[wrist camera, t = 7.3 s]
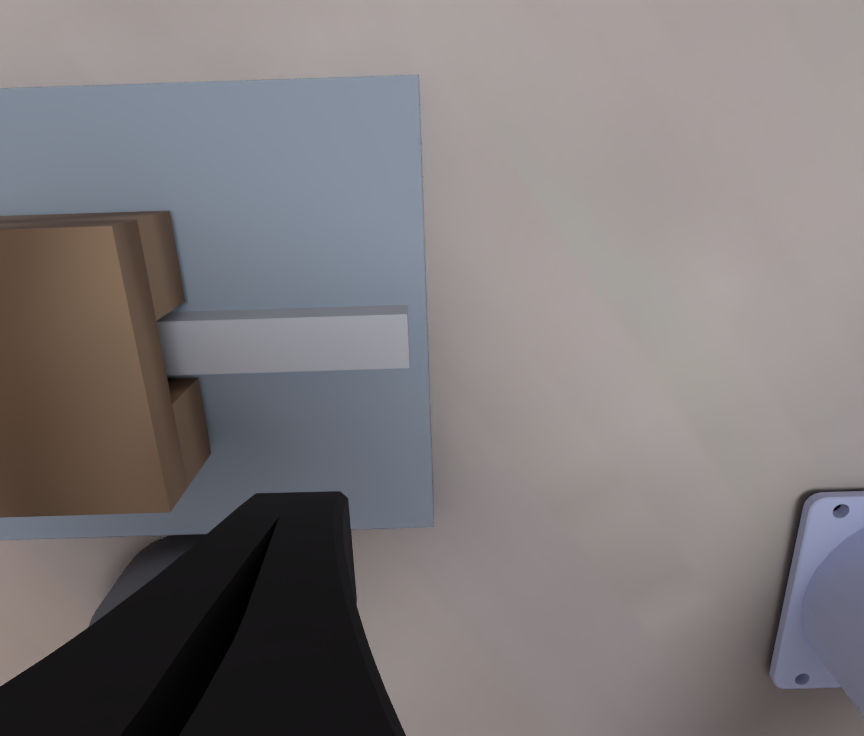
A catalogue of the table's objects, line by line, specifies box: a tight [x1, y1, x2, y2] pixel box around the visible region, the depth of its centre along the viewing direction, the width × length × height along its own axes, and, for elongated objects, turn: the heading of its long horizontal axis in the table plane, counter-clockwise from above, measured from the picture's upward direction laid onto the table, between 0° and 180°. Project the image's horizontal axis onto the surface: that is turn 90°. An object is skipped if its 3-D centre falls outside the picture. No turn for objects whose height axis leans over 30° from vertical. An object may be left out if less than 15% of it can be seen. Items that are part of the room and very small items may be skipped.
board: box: [0, 75, 434, 540], centre depth 16 cm, size 14×13×4 cm
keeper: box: [0, 211, 211, 518], centre depth 16 cm, size 5×7×3 cm
